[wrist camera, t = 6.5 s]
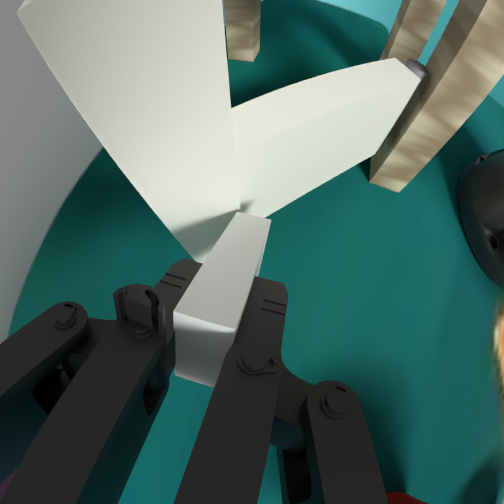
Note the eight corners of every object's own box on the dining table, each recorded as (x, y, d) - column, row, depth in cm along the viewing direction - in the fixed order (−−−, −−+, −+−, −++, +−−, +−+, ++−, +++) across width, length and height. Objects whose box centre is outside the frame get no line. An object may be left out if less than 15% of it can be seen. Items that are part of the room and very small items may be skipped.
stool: (393, 86, 26) (455, -52, 5) (398, 192, 22) (550, 3, 1) (236, 47, 27) (229, -105, 6) (183, 137, 23) (117, -96, 2)
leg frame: (356, 147, 23) (442, -37, 4) (377, 172, 22) (491, -5, 4) (188, 242, 20) (31, -10, 2) (209, 276, 20) (16, 12, 1)
